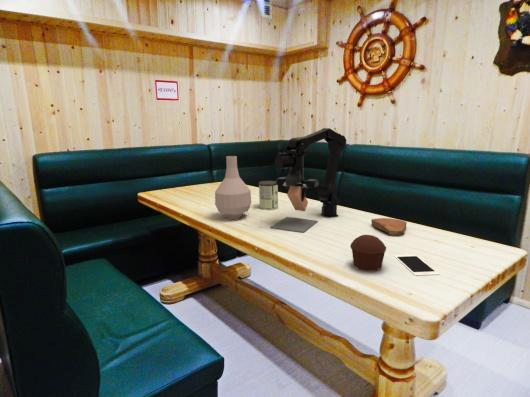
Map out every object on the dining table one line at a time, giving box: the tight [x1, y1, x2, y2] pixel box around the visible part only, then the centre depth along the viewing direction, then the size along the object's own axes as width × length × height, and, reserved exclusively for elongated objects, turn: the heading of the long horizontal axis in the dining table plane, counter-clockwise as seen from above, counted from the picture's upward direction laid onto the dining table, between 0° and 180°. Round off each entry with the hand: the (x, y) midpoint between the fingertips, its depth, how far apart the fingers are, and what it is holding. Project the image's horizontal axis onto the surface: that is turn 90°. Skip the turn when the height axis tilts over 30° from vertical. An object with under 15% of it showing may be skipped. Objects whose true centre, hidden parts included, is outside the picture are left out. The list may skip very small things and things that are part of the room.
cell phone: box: [393, 254, 440, 277], centre depth 117 cm, size 8×16×1 cm, turn 3°
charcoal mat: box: [269, 216, 319, 234], centre depth 162 cm, size 18×16×1 cm
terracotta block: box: [287, 185, 309, 212], centre depth 163 cm, size 5×5×13 cm
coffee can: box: [258, 180, 279, 211], centre depth 192 cm, size 10×10×14 cm
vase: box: [214, 155, 252, 220], centre depth 173 cm, size 18×18×30 cm
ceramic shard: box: [370, 217, 408, 237], centre depth 152 cm, size 15×6×15 cm
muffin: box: [350, 234, 387, 272], centre depth 116 cm, size 12×11×10 cm
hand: (296, 200), depth 162 cm, fingers closed on terracotta block, 5 cm apart
